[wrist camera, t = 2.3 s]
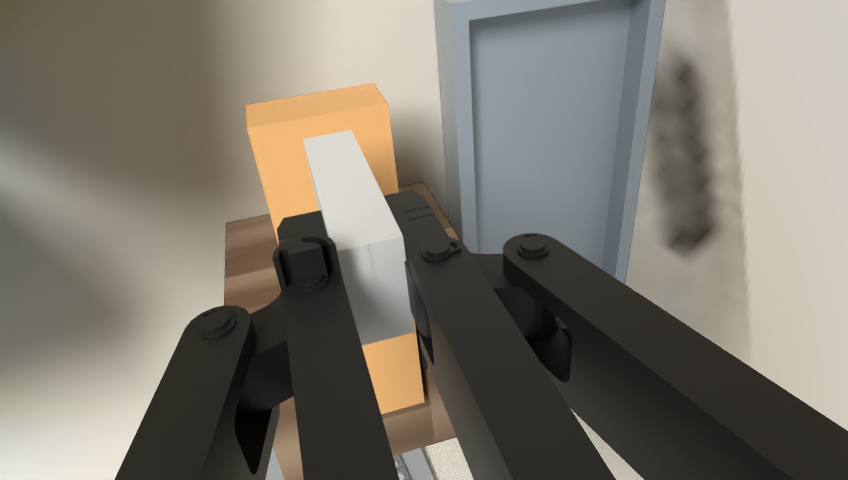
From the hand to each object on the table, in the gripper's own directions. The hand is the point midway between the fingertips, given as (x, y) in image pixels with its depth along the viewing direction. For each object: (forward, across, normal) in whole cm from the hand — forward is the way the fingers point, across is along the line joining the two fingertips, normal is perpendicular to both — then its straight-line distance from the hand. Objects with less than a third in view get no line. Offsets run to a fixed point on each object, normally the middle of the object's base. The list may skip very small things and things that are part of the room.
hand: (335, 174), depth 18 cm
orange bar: (+6, 0, -7) cm, 9 cm away
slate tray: (+11, +12, -9) cm, 18 cm away
